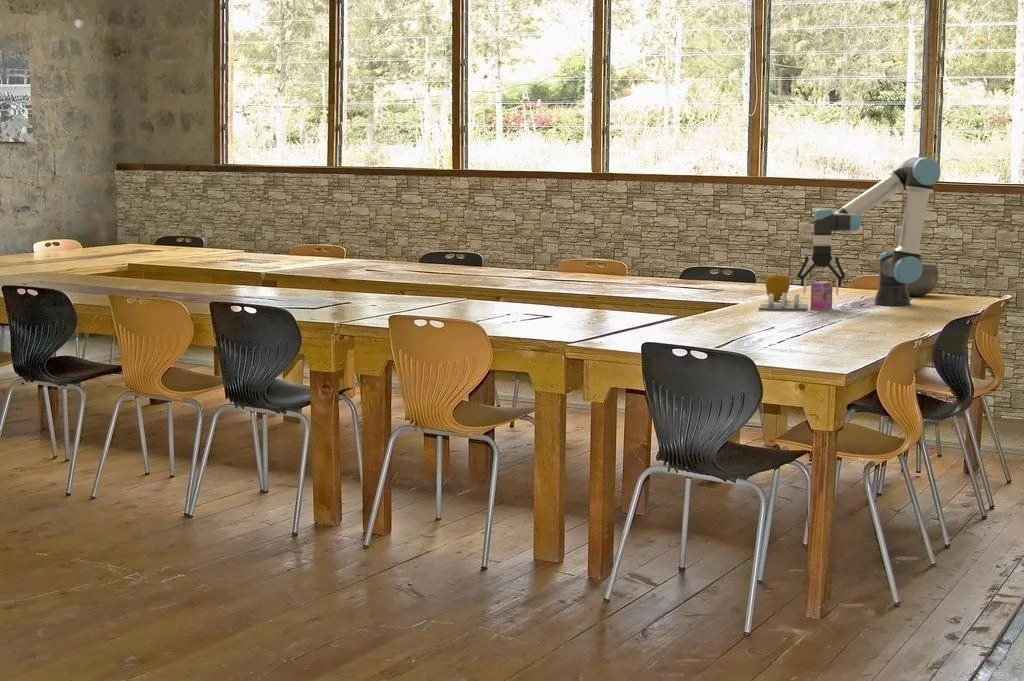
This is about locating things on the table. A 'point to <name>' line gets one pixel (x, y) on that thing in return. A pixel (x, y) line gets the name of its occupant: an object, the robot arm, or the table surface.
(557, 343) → the table surface
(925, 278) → the bowl
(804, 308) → the pin tray
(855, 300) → the table surface
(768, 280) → the apple
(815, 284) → the box
